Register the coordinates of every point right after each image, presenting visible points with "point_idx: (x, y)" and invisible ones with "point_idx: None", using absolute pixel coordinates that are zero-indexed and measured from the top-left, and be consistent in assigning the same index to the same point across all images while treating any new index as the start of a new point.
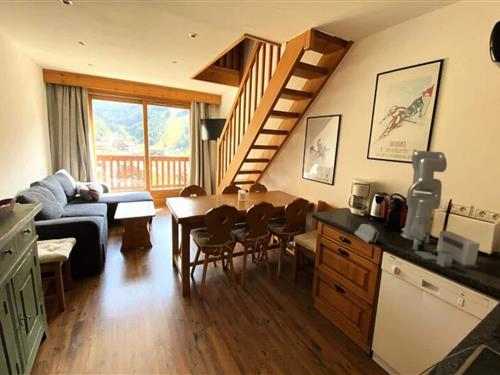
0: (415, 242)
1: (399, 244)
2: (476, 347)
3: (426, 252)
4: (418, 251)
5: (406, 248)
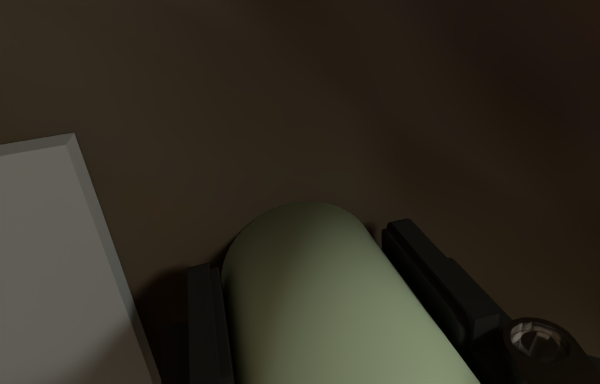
0: (327, 337)
1: (559, 7)
2: None
3: (96, 381)
4: (95, 238)
5: (330, 54)
